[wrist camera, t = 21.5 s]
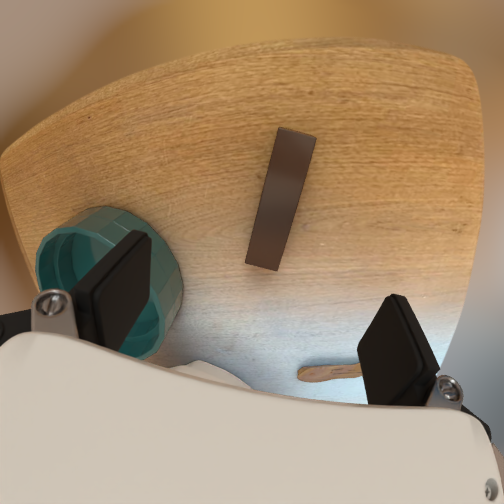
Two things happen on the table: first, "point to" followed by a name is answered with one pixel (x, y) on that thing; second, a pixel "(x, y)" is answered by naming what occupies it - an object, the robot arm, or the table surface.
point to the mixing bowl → (93, 250)
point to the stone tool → (328, 372)
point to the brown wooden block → (280, 197)
